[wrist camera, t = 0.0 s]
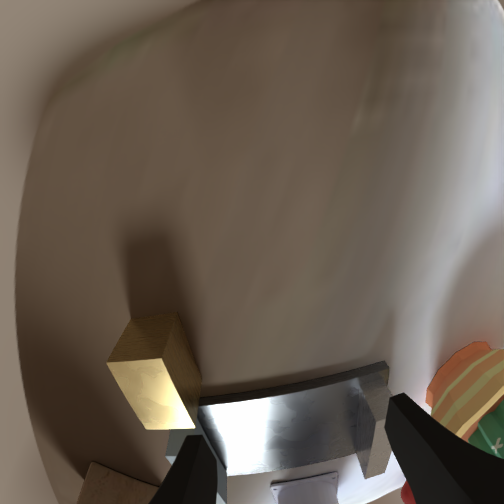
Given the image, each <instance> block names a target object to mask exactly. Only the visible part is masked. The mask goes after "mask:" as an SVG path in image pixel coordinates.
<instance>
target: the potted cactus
mask: <svg viewBox="0 0 504 504" xmlns="http://www.w3.org/2000/svg"><path fill="white" fill-rule="evenodd" d="M426 403H427V404H428V405H429V406H430V407H431V408H432V410H431V417H433V418H434V419H435V420H436V421H438V422H439V423H440V424H442V425H443V426H444V427H446V428H447V429H448V430H450V431H451V432H452V433H454V434H455V435H457V436H458V437H460V438H461V439H463V440H465V441H466V442H468V443H470V444H471V445H473V446H475V447H477V448H479V449H481V450H483V451H485V452H487V453H489V454H492V455H494V456H497V457H500V458H502V459H504V349H497V350H491V349H490V347H489V345H488V344H487V342H473V343H472V344H470V345H468V346H466V347H465V348H463V349H461V350H459V351H458V352H456V353H455V354H454V355H453V356H452V357H451V358H450V359H449V360H448V361H447V362H446V363H445V364H444V365H443V366H442V367H441V368H440V369H439V370H438V372H437V373H436V375H435V377H434V378H433V380H432V381H431V383H430V385H429V386H428V388H427V394H426Z"/></svg>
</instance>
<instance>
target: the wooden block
mask: <svg viewBox="0 0 504 504" xmlns="http://www.w3.org/2000/svg"><path fill="white" fill-rule="evenodd" d="M158 488H159V487H156V486H153V485H150V484H147V483H144V482H142V481H139V480H136V479H134V478H131V477H128V476H126V475H123V474H121V473H118V472H116V471H114V470H111V469H109V468H107V467H105V466H102V465H100V464H98V463H96V462H92V463H90V466H89V469H88V472H87V474H86V477H85V480H84V483H83V486H82V489H81V492H80V495H79V498H78V501H77V504H148V503H149V502H150V500H151V499H152V498H153V496H154V495H155V493H156V492H157V490H158Z"/></svg>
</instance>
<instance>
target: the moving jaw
mask: <svg viewBox="0 0 504 504" xmlns="http://www.w3.org/2000/svg"><path fill="white" fill-rule="evenodd" d="M201 434H202V435H203V437H204V438H205V440H206V442H207V444H208V446H209V447H210V449H211V451H212V453H213V455H214V456H215V458H216V460H217V474H218V486H217V499H216V504H227V472H226V470H225V469H224V467H223V465H222V464H221V462H220V460H219V458H218V456H217V455H216V453H215V451H214V449H213V447H212V446H211V444H210V442H209V440H208V438H207V436H206V434H205V433H204V431H203V429H202V427H201V425H200V423H199V421H198V419H197V420H196V428H186V429H171V430H170V435H169V440H168V446H167V451H166V458H167V459H168V460H169V462H170V463H171V464H173V462H174V460H175V458H176V456H177V454H178V452H179V450H180V448H181V446H182V444H183V442H184V439H185V437H186V436H187V435H201Z"/></svg>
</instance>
